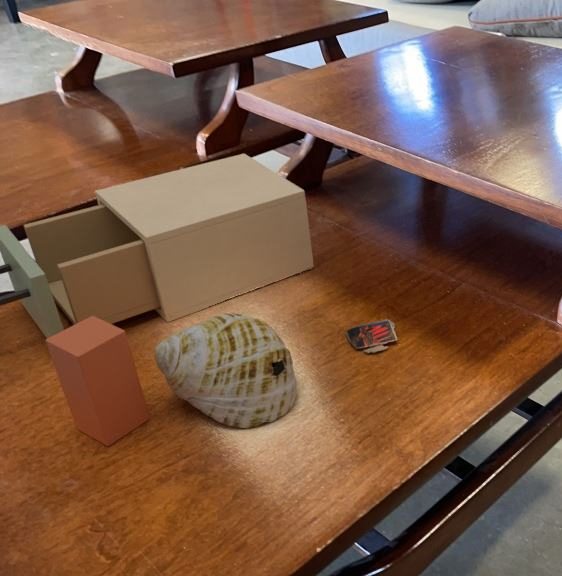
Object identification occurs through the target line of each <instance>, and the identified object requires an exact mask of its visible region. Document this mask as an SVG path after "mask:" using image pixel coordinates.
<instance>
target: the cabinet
mask: <svg viewBox="0 0 562 576" xmlns="http://www.w3.org/2000/svg"><path fill="white" fill-rule="evenodd" d="M94 193H95V197H96V201H97V206H98V205H102V204H104V205H105V206H107V207H108V208H109V209H110V210H111V211H112V212H113V213H114V214H115V215H116V216H117V217H118V218H120V219H121V220H122V221H123V222H124V223H125V224H126V225H127V226H128V227H129V228H130V229H131V230H133V231H134V232H135V233H136V234H137V235H138V236H139V237H140V238H141V239H142V240H143V241H145V246H146V250H147V254H148V258H149V262H150V266H151V270H152V274H153V278H154V282H155V285H156V289H157V293H158V297H159V301H160V305H161V307H158V308H155V309H154V311H155V312H157V314H159V315H160V317H161V318H162V319H163V320H164V321H165V322H166V323H170V322H173V321H175V320H178V319H180V318H184V317H186V316H189V315H191V314H194V313H197V312H200V311H203V310H205V309H207V308H210V307H209V306H211V307H213V306H216V305H218V304H217V303H219V304H221V303H220V302H222V303H224V302H225V301H224V300H227V299H229V298H230V297H233V296H236V295H239V294H242V293H244V292H247V291H250V290H252V289H255V288H256V287H259V286H260V287H261V286H263V285H266V284H268V283H271V282H274V281H277V280H280V279H282V278H285V277H287V276H290V275H292V274H294V273H298V272H300V271H303V270H305V269H307V268H311V267H314V268H315V266H314V257H313V248H312V239H311V232H310V231H311V230H310V222H309V215H308V208H307V207H308V206H307V199H306V192H305V190H304V189H303V188H301V187H300V186H298V185H296V184H295V183H293V182H292V181H290V180H288V179H286V178H285V177H284V176H281V175H280V174H278V173H277V172H275V171H274V170H272V169H270V168H269V167H267V166H265V165H264V164H262V163H261V162H259V161H258V160H256V159H254V158H253V157H251V156H249V155H247V154H246V153H241V154H237V155H233V156H228V157H225V158H222V159H215V160H212V161H209V162H208V161H207V162H205V163H200V164H196V165H193V166H189V167H185V168H181V169H177V170H173V171H172V170H171V171H169V172H164V173H160V174H157V175H152V176H148V177H145V178H141V179H137V180H132V181H128V182H125V183H120V184H116V185H113V186H109V187H104V188H100V189H97V190H94ZM223 301H224V302H223ZM227 301H228V300H227ZM215 304H216V305H215ZM212 305H213V306H212ZM202 309H203V310H202Z"/></svg>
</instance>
